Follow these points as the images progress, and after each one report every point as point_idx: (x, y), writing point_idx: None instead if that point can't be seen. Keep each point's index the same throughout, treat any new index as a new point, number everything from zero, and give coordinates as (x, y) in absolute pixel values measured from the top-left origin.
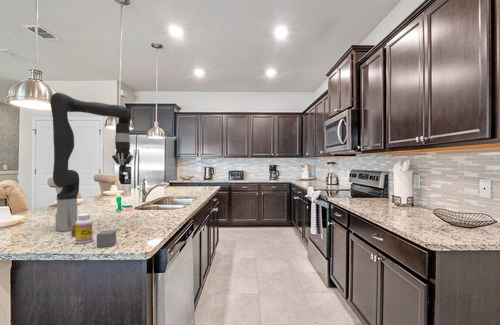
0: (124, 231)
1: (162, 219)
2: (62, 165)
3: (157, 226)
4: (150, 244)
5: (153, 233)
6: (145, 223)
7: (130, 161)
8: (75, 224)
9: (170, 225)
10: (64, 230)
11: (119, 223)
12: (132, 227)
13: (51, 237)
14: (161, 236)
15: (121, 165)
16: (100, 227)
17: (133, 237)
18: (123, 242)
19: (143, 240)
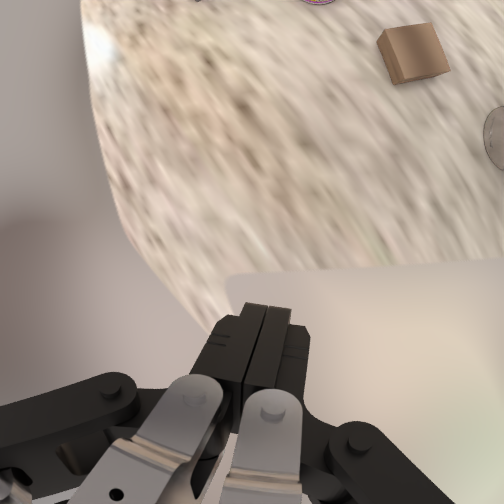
0: (260, 115)
1: (222, 309)
2: None
3: (176, 204)
4: (96, 28)
5: (138, 115)
6: (252, 245)
7: (76, 449)
8: (425, 32)
9: (141, 224)
10: (499, 107)
11: (368, 238)
12: (267, 177)
13: (476, 34)
14: (101, 95)
15: (243, 383)
16: (409, 167)
17: (175, 57)
18: (175, 9)
19: (129, 44)
